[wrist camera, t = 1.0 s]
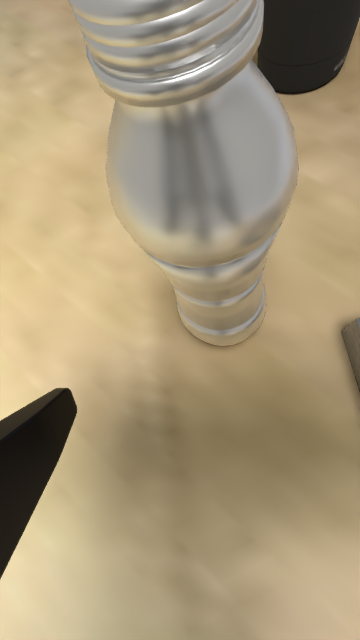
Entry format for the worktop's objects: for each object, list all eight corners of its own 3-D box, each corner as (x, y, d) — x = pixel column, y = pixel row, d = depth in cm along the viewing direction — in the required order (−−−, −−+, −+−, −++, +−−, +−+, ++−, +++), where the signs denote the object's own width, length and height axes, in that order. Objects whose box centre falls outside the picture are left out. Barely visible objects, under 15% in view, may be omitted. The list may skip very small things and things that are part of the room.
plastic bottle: (226, 263, 25) (180, -202, 6) (282, 318, 22) (497, -184, 4) (169, 308, 24) (-64, -29, 6) (218, 369, 22) (86, 122, 3)
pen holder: (275, 111, 29) (290, -32, 20) (241, 61, 32) (241, -82, 23) (365, 73, 28) (427, -96, 19) (321, 25, 31) (354, -138, 22)
